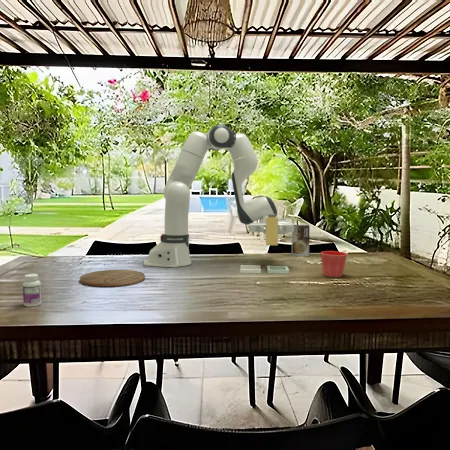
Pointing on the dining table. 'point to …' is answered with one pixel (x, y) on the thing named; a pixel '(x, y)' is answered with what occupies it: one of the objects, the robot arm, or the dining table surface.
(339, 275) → the flower pot
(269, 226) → the tan tall block
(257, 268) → the socket
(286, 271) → the socket
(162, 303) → the dining table surface
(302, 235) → the coffee box
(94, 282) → the trivet
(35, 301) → the pill bottle
